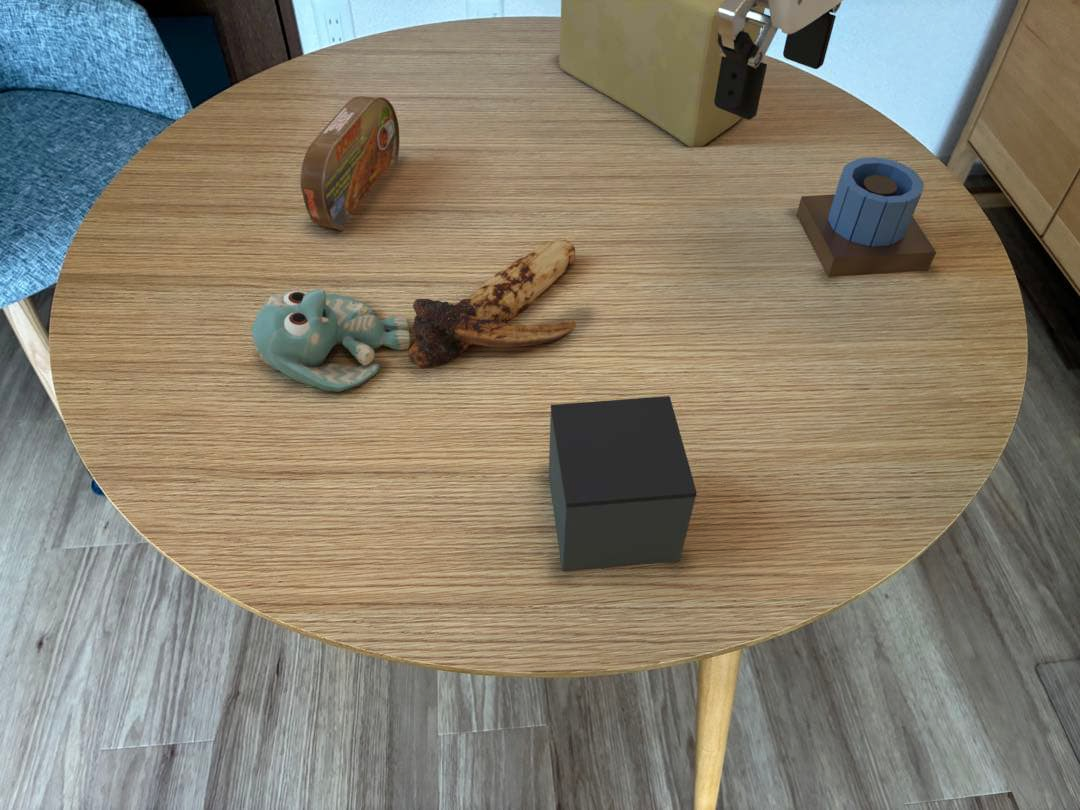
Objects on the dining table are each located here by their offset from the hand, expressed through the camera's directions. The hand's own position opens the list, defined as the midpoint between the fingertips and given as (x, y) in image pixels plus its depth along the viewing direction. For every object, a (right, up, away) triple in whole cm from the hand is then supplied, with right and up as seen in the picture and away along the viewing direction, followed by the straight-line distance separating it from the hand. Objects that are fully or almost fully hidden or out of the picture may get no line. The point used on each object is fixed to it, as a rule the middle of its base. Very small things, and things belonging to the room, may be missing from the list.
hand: (769, 86), depth 64 cm
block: (-12, -32, -6) cm, 35 cm away
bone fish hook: (-19, -17, +7) cm, 27 cm away
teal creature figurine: (-33, -20, +5) cm, 39 cm away
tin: (-34, -4, +18) cm, 39 cm away
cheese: (-6, +10, +31) cm, 33 cm away
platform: (+12, -10, +14) cm, 21 cm away
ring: (+12, -8, +12) cm, 18 cm away
